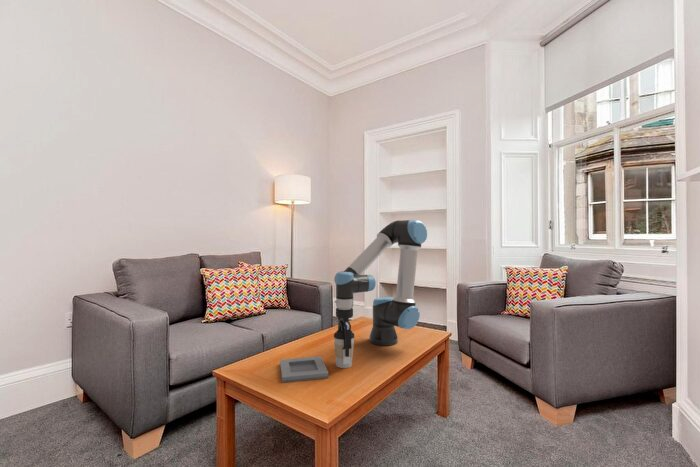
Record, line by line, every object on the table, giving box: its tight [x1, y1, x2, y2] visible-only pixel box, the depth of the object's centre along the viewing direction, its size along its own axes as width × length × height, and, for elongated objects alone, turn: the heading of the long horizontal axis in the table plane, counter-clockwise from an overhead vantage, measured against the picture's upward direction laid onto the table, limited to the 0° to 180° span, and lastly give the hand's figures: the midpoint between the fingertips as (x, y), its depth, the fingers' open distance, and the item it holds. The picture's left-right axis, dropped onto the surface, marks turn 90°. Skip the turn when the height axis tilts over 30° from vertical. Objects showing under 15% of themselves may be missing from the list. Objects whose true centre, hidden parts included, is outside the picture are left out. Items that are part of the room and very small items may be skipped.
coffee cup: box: [333, 329, 355, 369], centre depth 144 cm, size 9×9×15 cm
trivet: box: [279, 355, 329, 383], centre depth 138 cm, size 18×18×2 cm
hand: (343, 359), depth 144 cm, fingers closed on coffee cup, 8 cm apart
